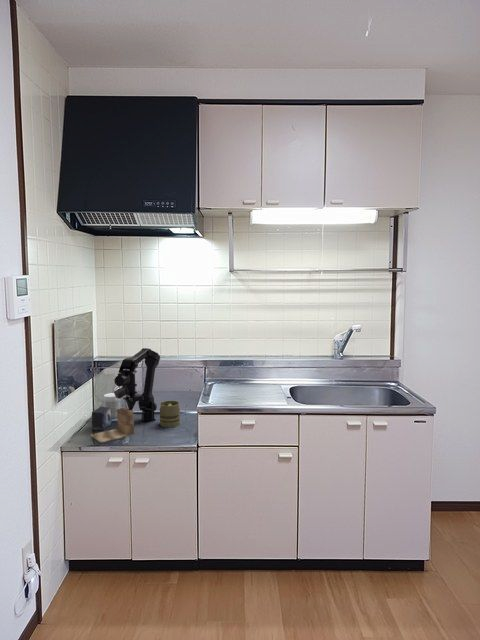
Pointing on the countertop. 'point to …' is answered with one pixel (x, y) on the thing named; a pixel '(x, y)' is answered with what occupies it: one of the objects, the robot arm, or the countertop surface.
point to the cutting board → (108, 435)
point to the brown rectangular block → (125, 421)
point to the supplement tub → (112, 404)
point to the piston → (169, 414)
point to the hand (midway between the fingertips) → (130, 410)
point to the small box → (101, 418)
